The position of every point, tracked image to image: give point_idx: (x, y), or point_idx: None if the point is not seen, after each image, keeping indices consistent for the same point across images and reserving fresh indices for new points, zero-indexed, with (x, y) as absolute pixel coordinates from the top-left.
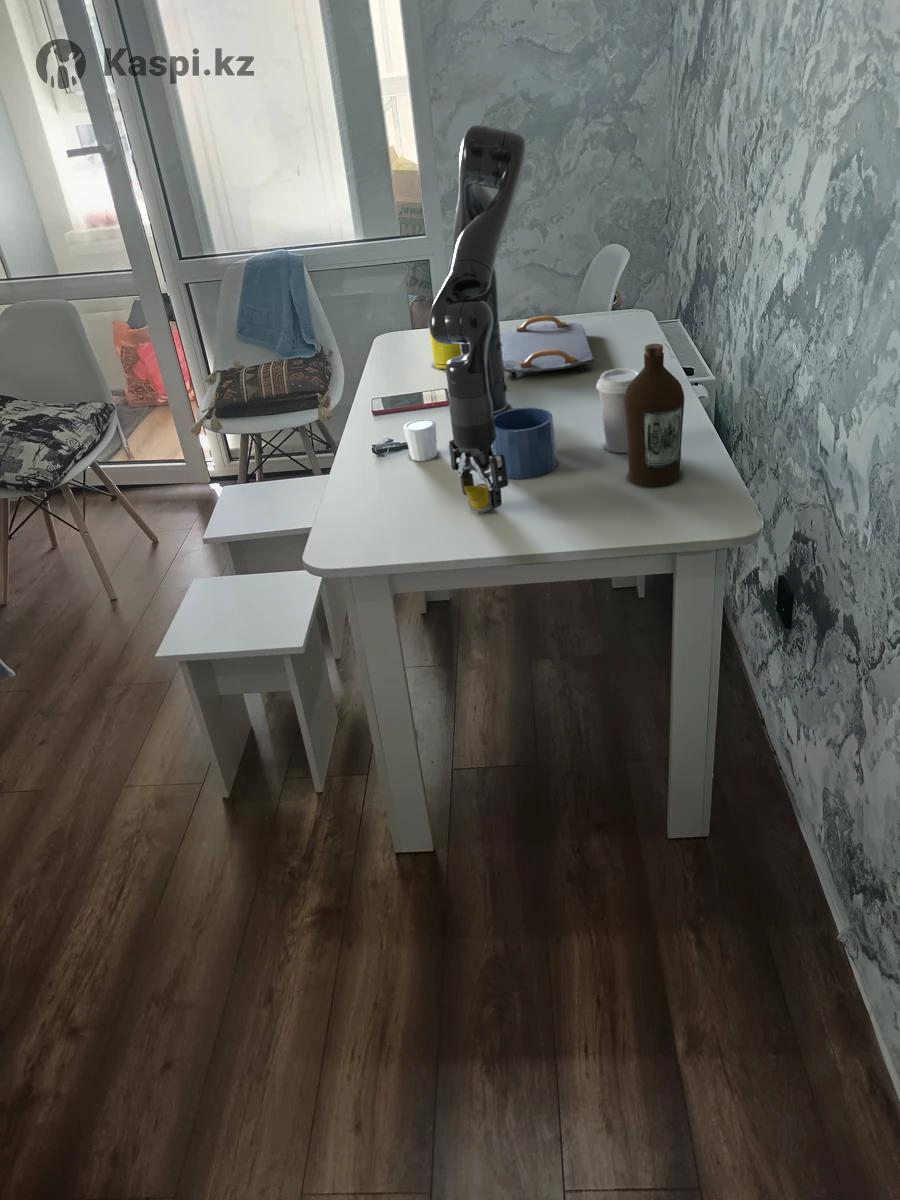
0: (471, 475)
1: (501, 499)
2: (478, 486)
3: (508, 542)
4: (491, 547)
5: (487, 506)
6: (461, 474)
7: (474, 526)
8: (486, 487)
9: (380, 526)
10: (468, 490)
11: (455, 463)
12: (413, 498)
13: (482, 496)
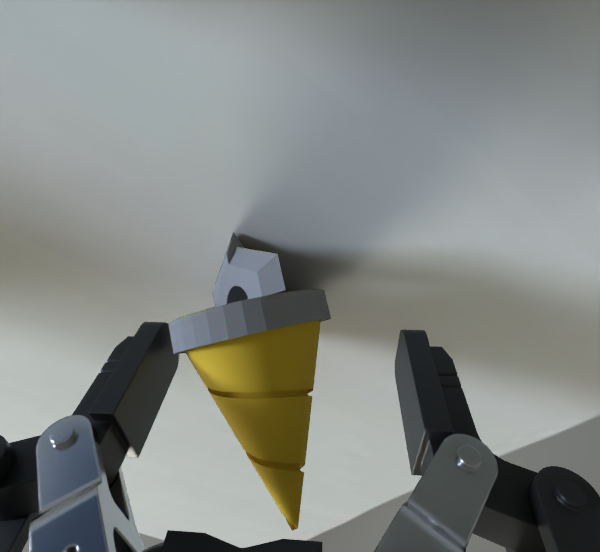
0: (121, 412)
1: (456, 373)
2: (261, 416)
3: (577, 366)
4: (534, 407)
5: (320, 321)
6: (124, 482)
7: (363, 369)
8: (257, 351)
9: (158, 477)
10: (301, 488)
11: (20, 542)
12: (8, 375)
13: (312, 383)
